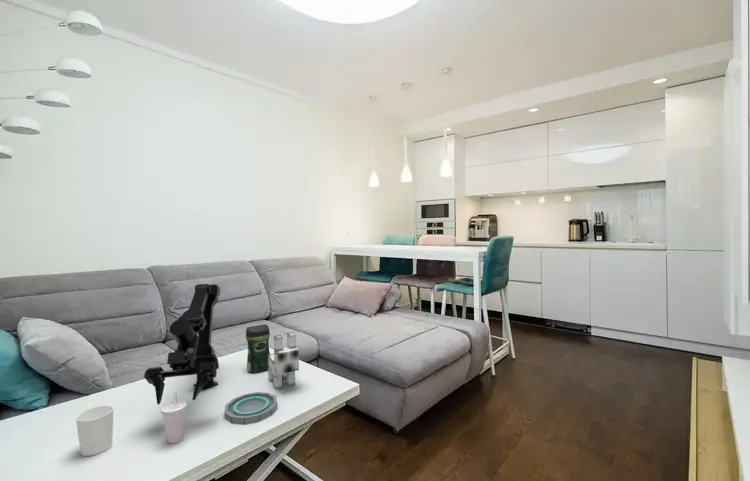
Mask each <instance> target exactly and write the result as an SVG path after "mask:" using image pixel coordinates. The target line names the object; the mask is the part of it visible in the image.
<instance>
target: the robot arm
mask: <svg viewBox="0 0 750 481" xmlns="http://www.w3.org/2000/svg"><path fill="white" fill-rule="evenodd" d="M220 296H221V287H220V286H219V285H218V284H216V283H215V284H212V283H211V284H209V283H200V284H199V283H198V284H195V285H194V293H193V296H192V298H191V299H192V300H191V301H190V302H191V303H190V305H189V308H188V309H187V310H186V311H184V312H183V313H182V315H180V316H179V317H178V319H177V320H175V321H173V322H172V323H171V324H170V326H169V332H170V335H171V336H172V338H173V340H174V342H175V343H177V346H176V350H174V352H173V351H172V352H171V351H170V352H167V354H168V355H167V361H166V362H167V363H166V365H169V366H168V367H169V368H170V369H169V370H164V369H163V367H162V366H155V367H148V368H147V369H146V370H145V371H144V375H143V378H144V379H145V381H147V383H148V384H149V385H151V386H153V387H154V391H155V397H156V403H157V405H158V406H159V405H160V404H161V402H162V400H163V394H164V388H165V385H166V383H165V380H166V378H173V377H175V378H176V377H185V376H193V375H195V376H196V382H195V383H194V384H192V385H193V388H194V390H193V393H192V401H196V399H197V397H198V395H199V394H200V393H201V391H204V390H206V389H209V388H212V387H215V386H217V385H218V382H217V381H216V380H214V378H216V377H217V371H218V369H219V366H220V365H219V360H218V356H217V355H216V353H215V352H216V350H215V349H214V347H213V345H212V333H213V332H212V330H213V319H214V307H215V306H216V304H217V303H218V302H219V299H220V298H219V297H220ZM197 333H198V334H197Z"/></svg>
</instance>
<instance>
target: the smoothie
mask: <svg viewBox="0 0 750 481" xmlns="http://www.w3.org/2000/svg"><path fill="white" fill-rule="evenodd" d="M173 393H174V394H173V396H174V397H173V398H174V399H173V400H174V401H171V402H169V403H167V404H164V405H163V406H162V407H161V409H160V411H161V412H160V414H161V415H162V419H163V422H164V428H165V433H166V438H167V442H168V444H176V443H179V442H181V441H182V440H183V439H184V429H185V419H186V410H187V408H188V404H187V401H184V400H177V399H178V397H177V390H174V391H173Z"/></svg>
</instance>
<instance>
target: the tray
mask: <svg viewBox="0 0 750 481" xmlns="http://www.w3.org/2000/svg"><path fill="white" fill-rule="evenodd" d="M277 410H278V400H277V396H276V395H274V394H272V393H270V392H261V391H256V392H251V393H249V392H248V393H244V394H241V395H238V396H237V397H235V398H233V399H231V400H230V401H228V403H226V404H225V405H224V411H223V412H224V414H223V415H224V420H226V421H228V423H230V424H234V425H248V424H255V423H259V422H261V421H263V420H265V419H268V418H269V417H271V416H272V415H274V413H275V412H276V411H277Z"/></svg>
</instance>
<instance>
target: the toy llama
mask: <svg viewBox="0 0 750 481" xmlns="http://www.w3.org/2000/svg"><path fill="white" fill-rule="evenodd" d="M286 335H287V338H286V339H287V347H285V346H284V345H283V344H284V343H283V340H284V339H283V335H280V334H279V335H274V336H273V353H270V354H268V370H267V371H268V381H269V382H270V383H271V382H273V389H274V390H275V391H277V390H280V389H283V380H284V379H286V385H287V387H292V386H296V371H297V372H298V371H300V359H299V357H300V356H299V355H300V353H299V351H300V350H299V348H297V333H295V332H290V333H289V332H288V333H287V334H286Z"/></svg>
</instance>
